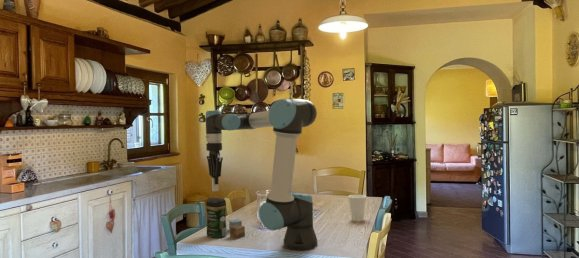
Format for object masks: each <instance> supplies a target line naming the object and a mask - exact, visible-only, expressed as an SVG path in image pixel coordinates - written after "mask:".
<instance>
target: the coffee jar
mask: <svg viewBox="0 0 579 258" xmlns="http://www.w3.org/2000/svg"><path fill="white" fill-rule="evenodd" d="M205 202H206V203H205V208H206V209H205V210H206V236H207V237H209V238H214V239H219V238H224V237H226V236H227V235H228V229H227V219H226V218H227V217H226V209H227V201H226V199H225V198H221V197H220V198H218V197H211V198H207V199H206V201H205Z"/></svg>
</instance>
